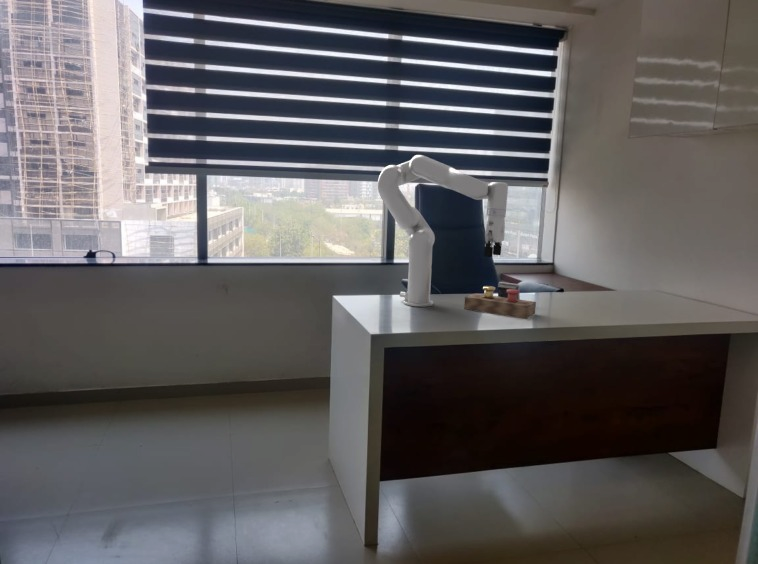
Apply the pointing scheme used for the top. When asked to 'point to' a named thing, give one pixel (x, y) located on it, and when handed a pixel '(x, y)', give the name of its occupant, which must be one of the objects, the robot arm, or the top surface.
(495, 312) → the plug block
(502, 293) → the electrical switch
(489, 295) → the brass plug
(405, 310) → the top surface
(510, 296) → the oxblood plug
